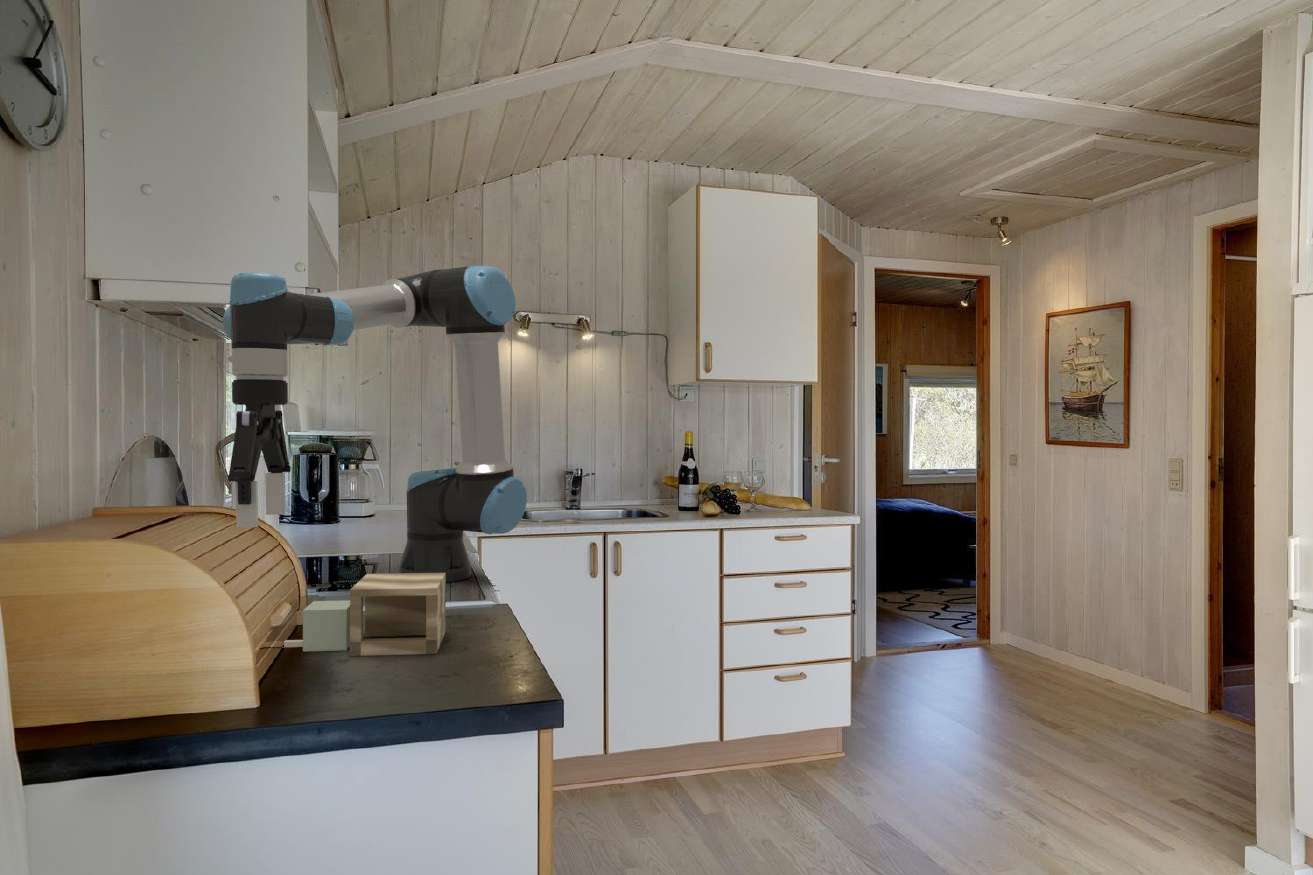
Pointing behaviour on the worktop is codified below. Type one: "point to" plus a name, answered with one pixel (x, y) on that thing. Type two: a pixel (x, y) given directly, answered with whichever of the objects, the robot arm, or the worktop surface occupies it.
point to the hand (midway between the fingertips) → (262, 520)
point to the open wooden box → (398, 613)
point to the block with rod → (324, 627)
